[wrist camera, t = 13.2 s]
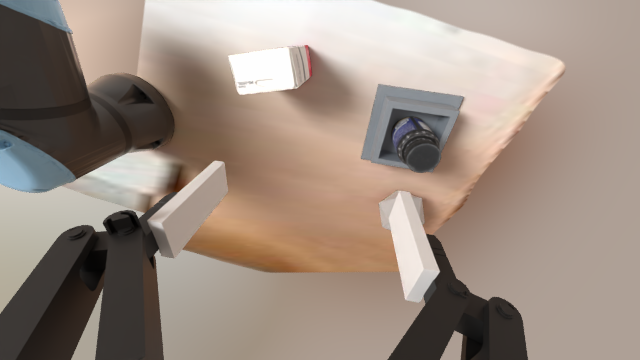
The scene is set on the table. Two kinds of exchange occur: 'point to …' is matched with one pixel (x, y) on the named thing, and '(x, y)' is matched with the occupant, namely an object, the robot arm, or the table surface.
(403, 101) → the well
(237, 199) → the table surface
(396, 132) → the pill bottle
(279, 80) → the ink box
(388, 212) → the die
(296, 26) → the table surface
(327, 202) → the table surface
